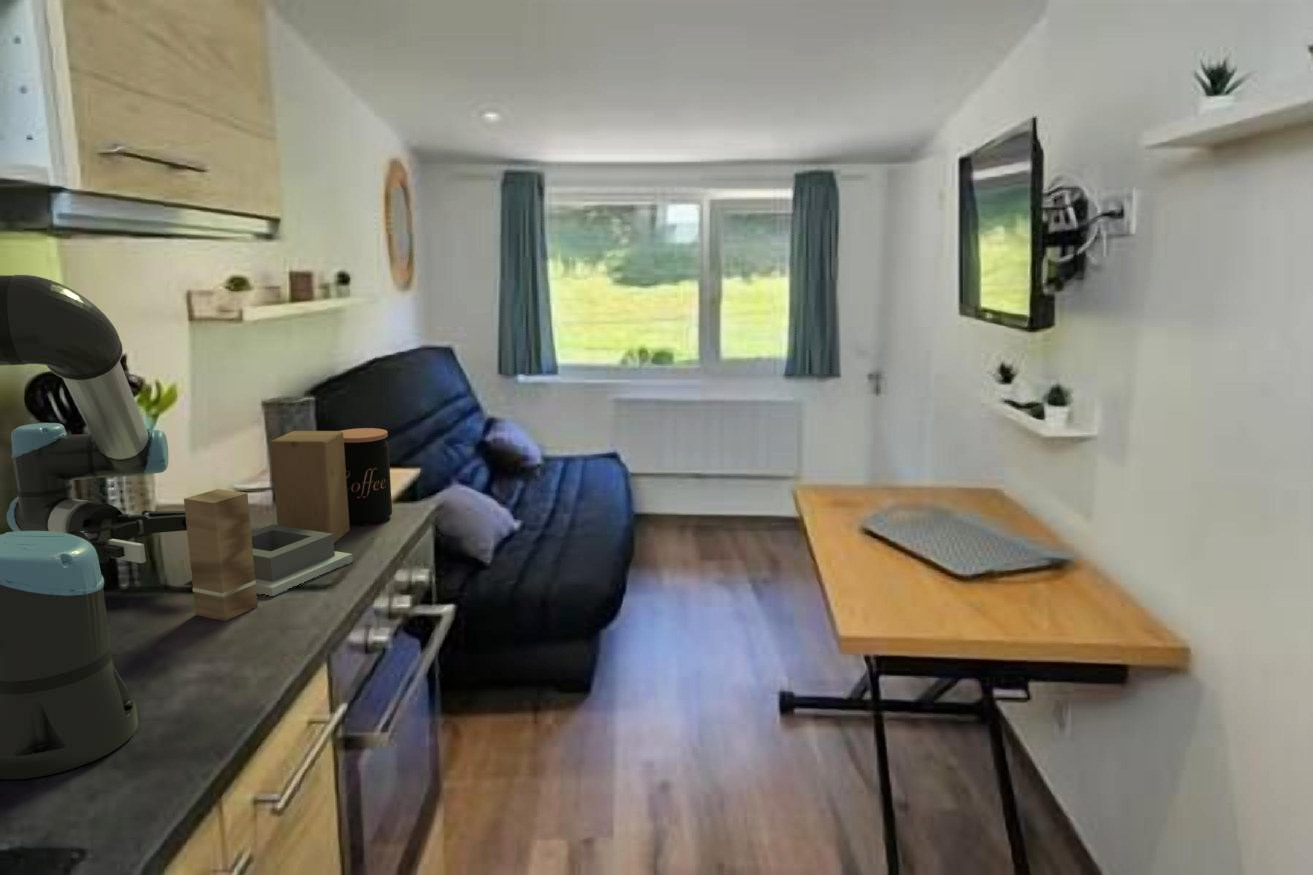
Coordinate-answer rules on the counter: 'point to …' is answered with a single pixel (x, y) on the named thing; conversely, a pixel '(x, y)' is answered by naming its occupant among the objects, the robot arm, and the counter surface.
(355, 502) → the coffee jar
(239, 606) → the walnut peg
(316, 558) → the socket board
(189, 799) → the counter surface
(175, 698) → the counter surface
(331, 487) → the wooden block
